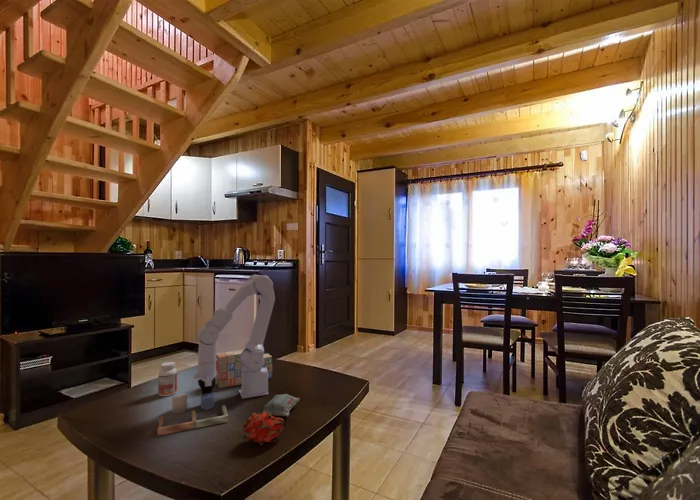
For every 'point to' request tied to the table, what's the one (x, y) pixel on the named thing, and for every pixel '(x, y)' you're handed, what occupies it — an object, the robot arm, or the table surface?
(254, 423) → the dragon fruit
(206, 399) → the decorative dice
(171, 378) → the pill bottle
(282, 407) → the packaged food
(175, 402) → the beige rounded cylinder
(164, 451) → the table surface
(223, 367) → the stack of blocks
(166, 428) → the e-shaped wooden rack
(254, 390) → the robot arm
